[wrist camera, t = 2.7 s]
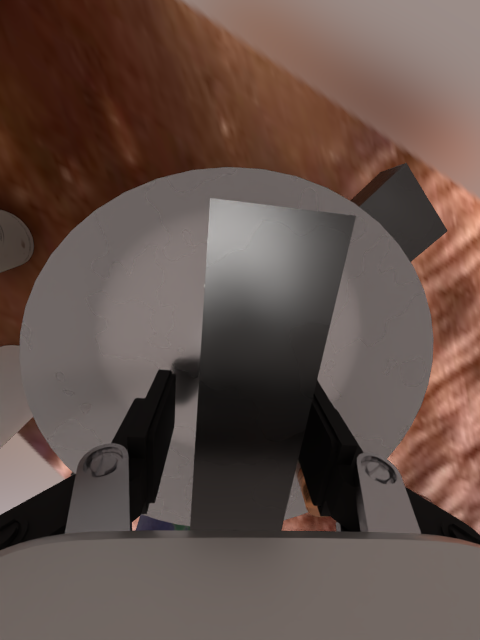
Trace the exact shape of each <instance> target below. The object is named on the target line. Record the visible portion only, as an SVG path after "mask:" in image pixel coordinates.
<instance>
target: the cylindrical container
mask: <svg viewBox="0 0 480 640" xmlns="http://www.w3.org/2000/svg"><path fill="white" fill-rule="evenodd" d="M19 353H20V346H17V345H7V346H2V347H0V448H1V447H3V445H5V444H6V443H7V441H9V440H10V439H11V437H13V436H14V435H15V434H16V433H17V432H18V431H19V430H20V429H21V428H22V427H23V426H24V425H25V424H26V423H27V422H28V421H29V420H30V419H31V418H32V417H33V415H32V412H31V410H30V408H29V405H28V402H27V398H26V395H25V391H24V388H23V384H22V377H21V369H20V361H19Z"/></svg>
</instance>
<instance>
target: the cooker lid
mask: <svg viewBox="0 0 480 640" xmlns="http://www.w3.org/2000/svg"><path fill="white" fill-rule="evenodd" d="M432 359H433V331H432V322H431V314H430V310H429V307H428V303H427V299H426V295H425V292H424V289H423V287H422V285H421V282H420V280H419V278H418V276H417V273H416V271H415V269H414V267H413V265H412V264H411V262H410V261H409V259H408V258H407V256H406V255H405V253H404V252H403V250H402V249H401V247H400V246H399V244H398V243H397V242H396V241H395V240H394V239H393V237H392V236H391V235H390V234H389V233H388V232H387V231H386V230H385V229H384V228H383V227H382V225H381V224H380V223H379V222H377V221H376V220H375V219H374V218H372V217H371V216H370V215H369V214H367V213H366V212H365V211H364V210H362V209H361V208H360V207H359V206H357V205H356V204H355V203H353V202H351V201H349V200H348V199H346V198H344V197H342V196H340V195H339V194H337V193H335V192H333V191H332V190H330V189H328V188H326V187H323V186H320V185H318V184H315V183H313V182H310V181H307V180H305V179H302V178H299V177H297V176H292V175H288V174H283V173H278V172H273V171H269V170H264V169H251V168H234V167H223V168H212V169H201V170H191V171H187V172H183V173H179V174H175V175H171V176H167V177H163V178H158V179H156V180H153V181H151V182H148V183H146V184H143V185H141V186H139V187H136V188H134V189H131V190H129V191H127V192H124V193H123V194H121V195H120V196H118V197H116V198H115V199H113V200H111V201H110V202H108V203H106V204H105V205H103V206H102V207H100V208H98V209H97V210H95V211H94V212H93V213H92V214H91V215H89V216H88V217H87V218H86V219H85V220H84V221H82V222H81V223H80V224H79V225H78V226H77V227H75V228H74V229H73V230H72V231H71V232H70V233H69V234H68V235H67V237H66V238H65V239H64V240H63V241H62V243H61V244H60V245H59V246H58V247H57V248H56V250H55V251H54V252H53V253H52V254H51V256H50V257H49V259H48V261H47V263H46V264H45V266H44V268H43V269H42V271H41V273H40V274H39V276H38V278H37V279H36V281H35V284H34V286H33V289H32V292H31V294H30V297H29V299H28V302H27V305H26V307H25V312H24V317H23V322H22V327H21V332H20V353H19V361H20V369H21V377H22V384H23V388H24V391H25V395H26V398H27V402H28V405H29V408H30V410H31V412H32V415H33V417H34V419H35V421H36V423H37V426H38V428H39V430H40V431H41V433H42V434H43V436H44V437H45V439H46V441H47V442H48V444H49V445H50V447H51V448H52V449H53V451H54V452H55V453H56V454H57V455H58V457H59V458H60V459H61V460H62V461H63V463H64V464H65V465H66V466H67V467H68V468H69V469H70V470H71V471H72V472H74V473H75V474H76V471H77V466H78V464H79V461H80V460H81V459H82V457H83V456H84V455H85V454H86V453H87V452H89V451H90V450H91V449H93V448H95V447H97V446H100V445H103V444H109V443H111V442H112V440H113V439H114V437H115V435H116V433H117V431H118V429H119V427H120V425H121V423H122V421H123V420H124V418H125V416H126V414H127V412H128V410H129V408H130V406H131V404H132V403H133V401H134V399H135V398H145V397H146V395H147V393H148V391H149V389H150V387H151V385H152V382H153V380H154V378H155V376H156V374H157V372H158V370H159V369H160V370H171V371H172V373H173V374H176V394H175V424H174V430H173V434H172V438H171V442H170V446H169V450H168V454H167V458H166V462H165V466H164V470H163V474H162V478H161V482H160V486H159V490H158V493H157V497H156V501H155V503H150V504H149V508H148V511H147V514H142V515H145V516H148V517H151V518H154V519H157V520H161V521H165V522H169V523H174V524H178V525H185V526H190V531H281V529H282V525H283V521H284V520H286V519H289V518H293V517H296V516H299V515H302V514H304V513H307V512H309V513H310V514H311V515H313V516H317V517H327V516H320V514H319V511H318V508H317V506H314V505H313V504H312V501H311V498H310V495H309V492H308V488H307V485H306V482H305V479H304V476H303V473H302V470H301V466H300V463H299V460H298V458H299V454H300V450H301V445H302V441H303V437H304V433H305V429H306V424H307V420H308V416H309V412H310V408H311V404H312V399H313V395H314V391H315V387H316V383H317V380H318V382H319V383H320V385H321V387H322V388H323V390H324V392H325V393H326V395H327V397H328V398H329V400H330V401H331V403H332V405H333V406H334V408H335V409H337V411H338V412H339V414H340V415H341V417H342V418H343V420H344V422H345V423H346V425H347V426H348V428H349V430H350V431H351V433H352V435H353V436H354V438H355V439H356V441H357V443H358V444H359V446H360V447H361V449H362V451H363V452H364V453H367V452H369V453H374V454H377V455H380V456H382V457H383V458H385V459H387V458H388V457H389V456H390V454H391V453H392V452H393V451H394V450H395V448H396V447H397V446H398V445H399V443H400V442H401V441H402V439H403V437H404V436H405V434H406V433H407V431H408V430H409V428H410V427H411V425H412V423H413V421H414V419H415V417H416V415H417V413H418V411H419V409H420V407H421V404H422V401H423V398H424V395H425V392H426V389H427V386H428V382H429V377H430V372H431V367H432Z"/></svg>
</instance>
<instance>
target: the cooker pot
mask: <svg viewBox="0 0 480 640" xmlns="http://www.w3.org/2000/svg"><path fill="white" fill-rule="evenodd" d="M351 202H353V203H355V204H356V205H357V206H359V207H360V208H361V209H362V210H364V211H365V212H366V213H367V214H369V215H370V216H371V217H372V218H374V219H375V220H376V221H377V222H379V223H380V224H381V225H382V227H383V228H384V229H385V230H386V231H387V232H388V233H389V234H390V235H391V236H392V237H393V239H394V240H395V241H396V242H397V243H398V244H399V246H400V247H401V249H402V250H403V252H404V253H405V255H406V256H407V258H408V259H409V261H410V262H411V261H412V260H413V259H415V258H416V257H417V256H418V255H419V254H421V253H422V252H423V251H424V250H425V249H427V248H428V247H429V246H430V245H431V244H433V243H434V242H435V241H436V240H437V239H439V238H440V237H441V236H442V235H443V234H444V233H446V232H447V229H446V228H445V226H444V224H443V223H442V221H441V219H440V218H439V216H438V214H437V213H436V211H435V209H434V208H433V206H432V205H431V203H430V201H429V200H428V198H427V196H426V195H425V193H424V191H423V190H422V188H421V187H420V185H419V183H418V182H417V180H416V178H415V177H414V175H413V173H412V172H411V170H410V168H409V167H408V165H407V164H406V163H405V164H402V165H399V166H397V167H394V168H391V169H388V170H386V171H383V172H380V173H379V174H378V175H377V176H376V177H375V178H374V179H373V180H372V181H371V182H370V183H369V184H368V185H367V186H366V187H364V188H363V189H362V190H361V191H360V192H359V193H358V194H357V195H356V196H355V197H354V198H353V199H352V200H351ZM74 474H75V473H74V472H72V474H71V476H72V475H74Z"/></svg>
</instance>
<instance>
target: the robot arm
mask: <svg viewBox="0 0 480 640" xmlns="http://www.w3.org/2000/svg"><path fill="white" fill-rule="evenodd" d="M175 394H176V374H173V373H172V371H171V370H160V369H159V370H158V372H157V374H156V376H155V378H154V380H153V382H152V385H151V387H150V389H149V391H148V393H147V395H146V397H145V398H135V399H134V401H133V403H132V404H131V406H130V408H129V410H128V412H127V414H126V416H125V418H124V420H123V421H122V423H121V425H120V427H119V429H118V431H117V433H116V435H115V437H114V439H113V440H112V442H111V443H109V444H103V445H100V446H97V447H95V448H93V449H91V450H90V451H89V452H87V453H86V454H85V455H84V456H83V457H82V459H81V460H80V461H79V464H78V466H77V471H76V474H74V475H72V476H71V477H69V478H67V479H65V480H63V481H62V482H60V483H58V484H56V485H54V486H53V487H51V488H49V489H47V490H45V491H43V492H42V493H40V494H38V495H36V496H34V497H32V498H31V499H29V500H27V501H25V502H23V503H21V504H20V505H18V506H16V507H14V508H12V509H10V510H9V511H7V512H5V513H3V514H1V515H0V640H480V535H479V534H478V533H477V532H476V531H475V530H473V529H472V528H471V527H469V526H468V525H467V524H465V523H464V522H462V521H460V520H459V519H457V518H456V517H454V516H452V515H451V514H449V513H447V512H446V511H444V510H442V509H441V508H439V507H437V506H436V505H434V504H433V503H432V502H431V501H430V500H428V499H426V498H424V497H421V496H419V495H418V494H416V493H414V492H413V491H411V490H409V489H408V488H406V487H405V486H404V483H403V480H402V477H401V475H400V473H399V471H398V470H397V468H396V467H395V466H394V465H393V464H392V463H391V462H389V461H388V460H387V459H385V458H383V457H382V456H380V455H377V454H374V453H369V452H367V453H364V452H363V451H362V449H361V447H360V446H359V444H358V443H357V441H356V439H355V438H354V436H353V435H352V433H351V431H350V430H349V428H348V426H347V425H346V423H345V422H344V420H343V418H342V417H341V415H340V414H339V412H338V411H337V409H335V408H334V406H333V405H332V403H331V401H330V400H329V398H328V397H327V395H326V393H325V392H324V390H323V388H322V387H321V385H320V383H319V382H318V380H317V383H316V387H315V391H314V395H313V399H312V404H311V408H310V412H309V416H308V420H307V424H306V429H305V433H304V437H303V441H302V445H301V450H300V454H299V458H298V460H299V463H300V466H301V470H302V473H303V476H304V479H305V482H306V485H307V488H308V492H309V495H310V498H311V501H312V504H313V505H314V506H317V508H318V511H319V514H320V516H331V517H332V518H333V519H334V520H336V532H335V531H162V530H145V531H132V522H133V521H134V520H135V519H137V518H138V517H139V516H140V515H141V514H147V511H148V508H149V504H150V503H155V501H156V497H157V493H158V490H159V486H160V482H161V478H162V474H163V470H164V466H165V462H166V458H167V454H168V450H169V446H170V442H171V438H172V434H173V430H174V424H175Z"/></svg>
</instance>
